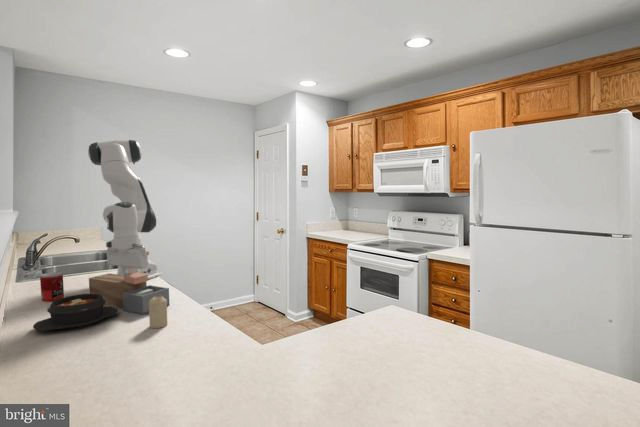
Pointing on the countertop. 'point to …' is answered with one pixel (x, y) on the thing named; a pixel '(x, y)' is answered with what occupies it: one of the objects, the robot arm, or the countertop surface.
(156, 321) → the candle
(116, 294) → the brown wooden block
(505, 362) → the countertop surface
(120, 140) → the robot arm
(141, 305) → the box
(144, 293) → the tile sage
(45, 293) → the canned food
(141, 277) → the tile terracotta
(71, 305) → the casserole
